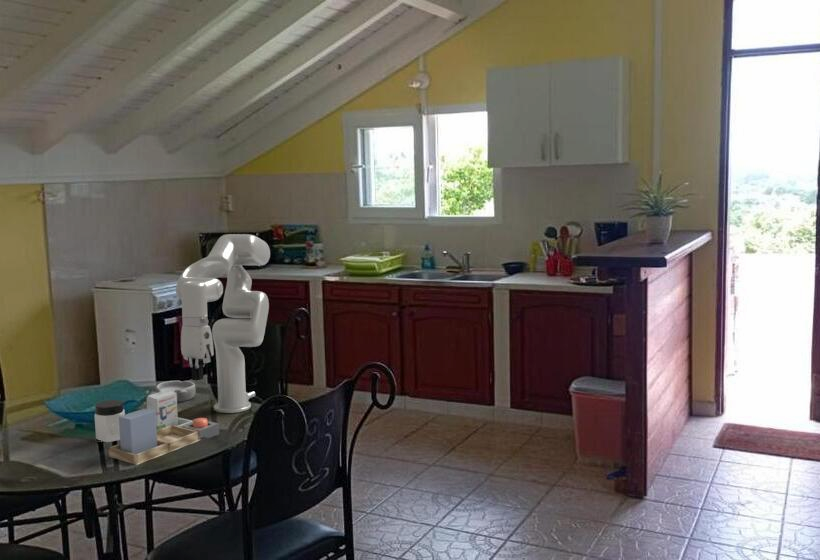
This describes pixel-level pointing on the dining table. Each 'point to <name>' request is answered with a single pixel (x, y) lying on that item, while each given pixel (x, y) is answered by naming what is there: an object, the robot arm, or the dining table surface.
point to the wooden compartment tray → (158, 444)
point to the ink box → (164, 408)
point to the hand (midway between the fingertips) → (197, 379)
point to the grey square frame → (205, 429)
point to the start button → (200, 423)
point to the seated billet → (138, 431)
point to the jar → (108, 420)
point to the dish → (178, 389)
